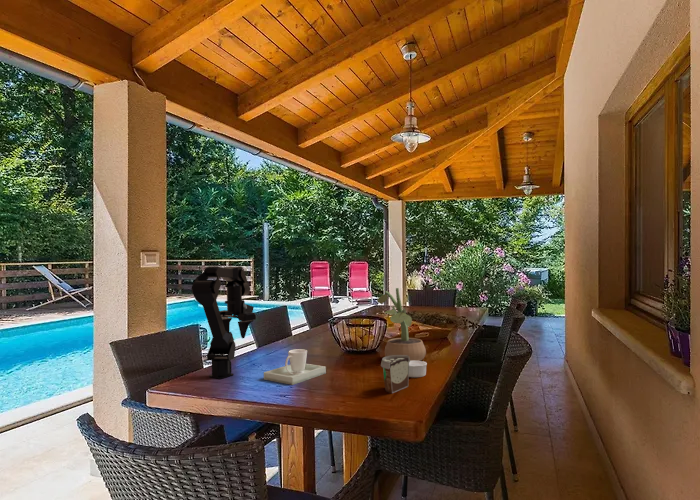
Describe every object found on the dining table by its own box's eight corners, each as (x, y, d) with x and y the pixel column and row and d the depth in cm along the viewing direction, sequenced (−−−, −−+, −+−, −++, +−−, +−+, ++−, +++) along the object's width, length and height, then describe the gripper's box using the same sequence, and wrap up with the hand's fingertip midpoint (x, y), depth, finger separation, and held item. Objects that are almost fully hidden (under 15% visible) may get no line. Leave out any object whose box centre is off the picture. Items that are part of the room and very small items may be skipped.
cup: (311, 372, 175) (311, 350, 175) (293, 378, 167) (293, 355, 167) (297, 369, 179) (296, 348, 180) (278, 375, 171) (278, 353, 171)
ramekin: (400, 372, 176) (400, 360, 176) (424, 371, 176) (423, 359, 176) (404, 378, 167) (404, 366, 167) (429, 377, 167) (429, 365, 167)
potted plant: (391, 353, 208) (389, 285, 208) (431, 356, 200) (429, 285, 200) (370, 365, 188) (368, 289, 188) (413, 368, 180) (411, 289, 180)
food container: (395, 382, 162) (394, 353, 162) (410, 385, 158) (409, 355, 158) (373, 391, 152) (372, 360, 152) (389, 394, 148) (388, 362, 148)
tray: (292, 385, 162) (292, 377, 162) (263, 379, 170) (263, 372, 170) (325, 373, 176) (325, 366, 176) (297, 368, 184) (297, 362, 184)
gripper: (265, 297, 190) (266, 336, 190) (234, 295, 201) (235, 332, 201) (244, 299, 181) (245, 340, 181) (212, 297, 192) (213, 336, 192)
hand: (235, 337), depth 189 cm, fingers open, 9 cm apart
